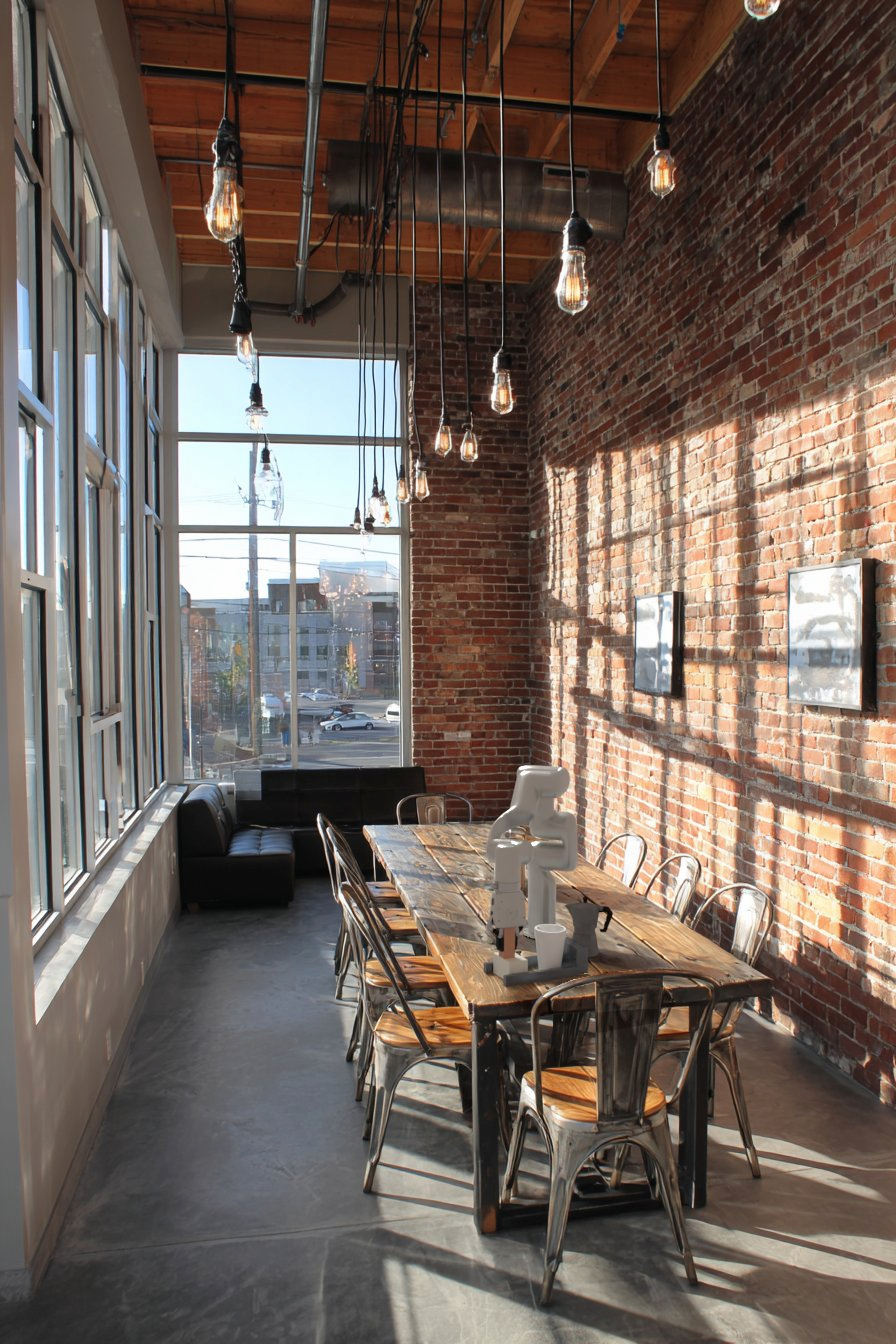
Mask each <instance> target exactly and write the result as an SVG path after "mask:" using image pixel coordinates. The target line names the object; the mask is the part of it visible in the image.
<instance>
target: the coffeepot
mask: <svg viewBox="0 0 896 1344" xmlns="http://www.w3.org/2000/svg"><path fill="white" fill-rule="evenodd" d="M588 899H589V897H588V896H582V900H583V901H582V902H574V903H568V904H565V905H564V907H565V908H566V909H567V911H568V913H569V914H570V917H571V919H572V925H573V929H574V930H573V933H572V938H571V939H573V940H575V941H577V942H579V943H581V944H583V945H585V946H587V947H588V958H595V957H597V956H599V954H600V951H599V946H598V937H597V933H596V928H597V927H598V921H599V914H600V913H606V914H607V915H606V917H605V922H604V924H603V928H599V931H600V933H607V932H608V928H609V926H610V923H611V920H612V918H613V914H614V912H613V911H612V909H611V908H610V907H609V906H607V905H598V904H596V903H592V902H588Z"/></svg>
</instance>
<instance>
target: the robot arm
mask: <svg viewBox="0 0 896 1344" xmlns="http://www.w3.org/2000/svg"><path fill="white" fill-rule="evenodd" d="M570 782H571V776H570V773H569V770H568V769H567V768H566V767H563V766H551V765H550V766H549V765H535V764H533V765H530V764H529V765H528V764H527V765H522V766H519V767H518V768H517V770H516V781H515V785H514V789H513V794H512V797H511V800H510V801H511V802H510V806H509V809H508V810H506V811H504V812H503V813H502V814H501V815H500V816H499V817H498V818H497V819H496V820H495V821H494V822H493V823H492V825H491V827H490V829H489V833H488V836H487V839H486V840H487V841H486V845H485V856H486V859H487V860H488V862H491V863H494V881H493V883H491V884H490V888H491V890H492V894H491V898H490V906H489V919H488V920H487V923H486V924H485V929H486V930H488V931H490V932H491V933H492V934H493V935H494V936H495V947H496V950H497V951H498V952H499V951H501V952H503V951H504V938H502V935H503V928H510V927H515V951H517V946H518V944H519V943H518V940H519V936H520V933H521V932H522V935H523V934H524V936H525V937H526V936H527V937H526V938H529V937H530V939H535V936H534V928H535V926H537V925H542V924H555V925H557V922H556V920H557V919H556V916H557V913H556V912H557V882H556V879H555V878H554V875H553V874H552V873H551V871H554V872H568V873H569V872H570V873H571V872H573V871H575V870H576V869H577V866H578V859H579V857H578V856H579V849H578V848H579V847H578V843H579V842H578V823H577V818H576V816H575V815H574V814H573V813H571V812H569V811H558V810H555V799H558V798H560V797H562V796H563V795H564V794H565V793H566V792H567V791H568V789H569V788H570ZM526 824H528V827H529V832H530V835H531V837H533V838H535V839H541V840H537V841H532V842H531V841H529V840H527V839H518V838H510V837H509V838H508V837H507V838H505V837H502V836H503V835H504V834H505V833H507V832H508V831H509V830H512V829H515V828H518V827H521V826H524V825H526ZM542 839H543V840H542ZM545 840H546V841H545ZM547 840H550V841H547ZM553 840H554V841H553ZM524 866H526V867H527V909H526V901H525V895H524V891H523V890H521V879H522V877H521V875H522V867H524ZM526 911H527V912H526Z"/></svg>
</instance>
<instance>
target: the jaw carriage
mask: <svg viewBox="0 0 896 1344" xmlns="http://www.w3.org/2000/svg"><path fill="white" fill-rule="evenodd" d="M502 938H504V951H503V952H501V951H499V950H498V951H496V952H493V955H492V956H493V957H492V958H493V959H492V961H493V974H494V975H496V976H497V977H499V978H500V979H502V980H503V976H504V975H508V974H515V973H522V972H529V971H528V969H529V968H528V960H527V959H525V958H524V957H525V956H521V955H520V954H518V953H517V952H516V950H515V927H510V928H503V935H502Z"/></svg>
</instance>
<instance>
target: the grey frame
mask: <svg viewBox="0 0 896 1344" xmlns="http://www.w3.org/2000/svg"><path fill="white" fill-rule="evenodd" d="M523 957H524V958H525V959H527V960H528V969H529V968H536V967H538V958H537V954H536V955H531V956H528V955H527V956H523ZM483 973H484V974H492V973H493V960H491V961H485V962H483ZM584 973H588V974H589V957H588V947H587V946H585V945H583V944H581V943H579V942H577V941H575V940H573V939H572V938H571V937H569V936H567V935H566V938H565V943H564V950H563V957H562V964H561V967H558V968H551V969H544V970H539V969H538V970H530V971H528V972H522V973H515V974H508V975H504V976H503V979H502V980H503V981H502V982H503V984H502V985H503V986H504V987H514V986H520V985H526V984H534V983H542V982H546V981H554V980H562V979H568V978H569V977H570V978H574V977H573V976H576V977H579V976H580V975H579V974H584ZM493 974H494V973H493Z"/></svg>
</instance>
